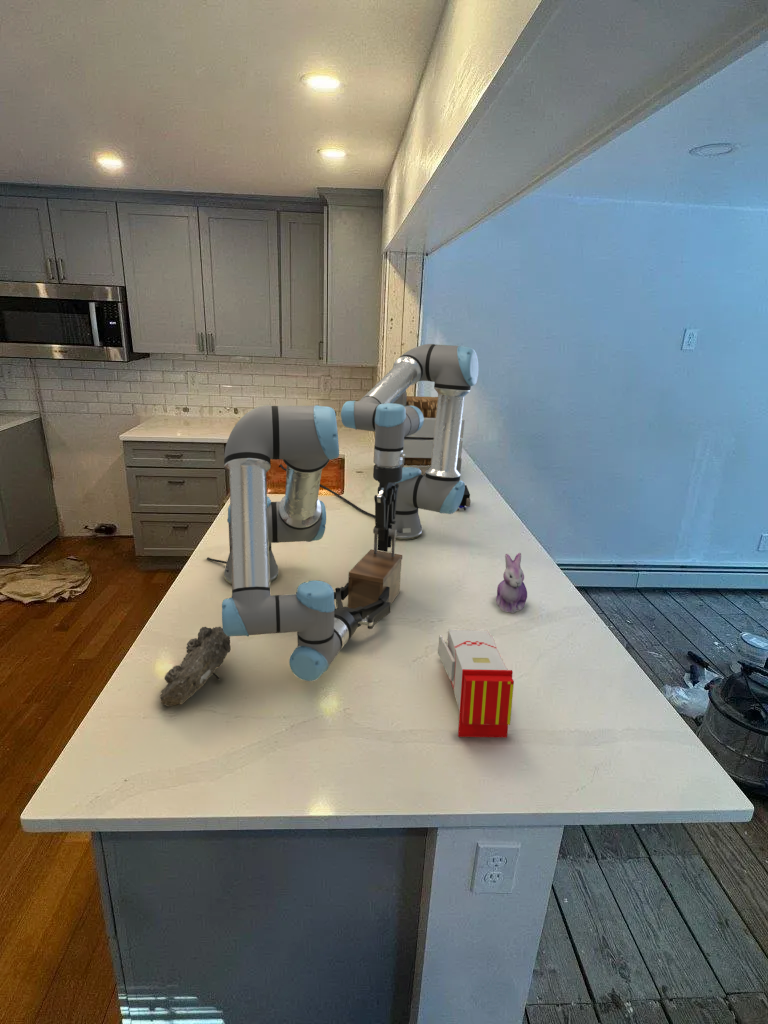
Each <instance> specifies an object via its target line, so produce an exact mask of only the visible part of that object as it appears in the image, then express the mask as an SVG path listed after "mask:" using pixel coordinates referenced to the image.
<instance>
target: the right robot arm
mask: <svg viewBox="0 0 768 1024" xmlns="http://www.w3.org/2000/svg"><path fill="white" fill-rule="evenodd" d="M479 368H480V367H479V358H478V354H477V351H475V349H474V348H473V347H470V346H464V345H451V344H450V345H449V344H436V343H435V344H434V343H426V344H421V345H418V346H415V347H413V348H411V349H409V350H407V351H405V352H404V353H402V354H401V355H400V356H399V357H398V358H396V359H395V361H394V362H393V366H392V368H391V369H390V370H389V371H388V372H387V373H386V374H385V375H384V376H382V378H381V379H380V380H378V382H377V383H376V384H374V386H373V387H372V388H371V389H370V390H369V391H368V392H367V393H366V394H365V395H364V396H363V397H361V399H360V400H357V401H356V400H347V401H345V402H344V403H343V405H342V407H341V411H340V419H341V423H342V425H343V426H344V427H345V428H349V429H354V430H356V431H357V430H358V431H359V430H360V431H367V432H374V448H373V464H374V465H373V470H372V471H373V473H372V478H373V480H375V481H377V482H378V483H379V484H378V487H377V494H375V495H374V496H373V499H374V514H373V513H370V512H369V511H366V510H364V509H362V508H360V507H359V506H358V505H356V504H354V503H353V502H351V501H350V500H348V499H347V498H345V497H343V496H342V495H341V494H339V493H337V492H336V491H334V490H332V489H330V488H329V487H327V486H324V485H322V484H321V483H320V487H319V488H322V489H324V490H326V491H327V492H329V493H331V494H333V495H334V496H336V497H337V498H339V499H341V500H342V501H344V502H345V503H347V504H348V505H350V506H352V508H355V509H356V510H357V511H359V512H360V513H362V514H364V515H367V516H369V517H371V518H373V519H374V527H375V528H377V529H378V537H377V551H383V552H388V551H389V550H388V549H392V537H391V536H388V534H389V528H390V529H396V530H397V535H396V537H395V541H410V540H415V539H418V538H420V537H421V536H422V535H423V525H422V524H421V518H420V515H419V510H424V511H430V512H435V513H439V514H447V515H452V514H454V513H456V512H457V511H458V510H457V509H459V506H460V503H461V501H462V498H463V495H464V490H465V485H466V483H465V482H464V481H463V480H462V479H461V474H460V473H459V472H458V471H457V469H456V468H457V460H458V451H459V442H460V439H461V438H460V434H461V425H462V419H463V414H464V408H465V407H464V406H465V397H466V396H467V395H468V394H469V393H471V387H474V386H475V385H476V384H477V382H478V378H479V372H480V371H479ZM419 382H432V383H433V389H434V390H435V391H436V393H437V397H438V400H437V410H436V420H435V430H434V440H433V449H432V459H431V465H430V466H429V468H427V469H426V470H425V474H422V470H421V468H419V467H416V466H406V467H405V466H404V467H402V466H401V465H402V464H403V458H404V457H405V454H403V449H404V437H406V436H409V435H411V434H415V433H416V432H417V431H418V430H419V429H421V427H422V425H423V422H424V417H423V414H422V412H421V410H420V409H419V408H417V407H415V406H403V405H400V404H393V403H394V402H395V401H396V400H397V399H398V398H399V397H400V396H401V395H402V394H403V393H404V391H405V390H406V391H407V389H408V388H409V387H410V386H415V385H416V384H417V383H419ZM278 468H281V469H282V470H283V471H285V472H286V470H287V467H286V468H285V466H284V465H283V464H281V463H280V464H278Z"/></svg>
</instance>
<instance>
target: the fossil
mask: <svg viewBox="0 0 768 1024" xmlns="http://www.w3.org/2000/svg"><path fill="white" fill-rule="evenodd" d="M231 648H232V647H231V636H227V635H226V634H225V633H224V632H223V627H222V626H215V627H214V626H213V627H212V628H211V627H207V626H202V627H200V629H199V631H198V633H197V637H195V638H191V639H189V640H188V641H187V643H186V654H185V656H184V657H183V660H182V661H181V663H180V665H178V664H177V665H174V666H173V667H172V668H171V669H170V670H168V672H166V673H165V675H164V678H163V679H164V681H165V682H166V683H167V684H166V685H165V687H164V688H162V689H161V690H160V694H159V700H160V703H161V705H165V706H167V707H173V706H178V705H183V704H184V703H185V702H186V701H187V700H188V699H190V697H192V696H193V695H194V694H195V693H196V692H197V691H199V690H200V689H201V688H202V687H203V686H204V685H205V684H206V682H207V681H208V679H209V678H210V677H212V675H213V677H215V678H216V680H220V679H221V677H219V675H218V674H216V672H215V671H216V669H217V668H220V667H221V666H222V665H223V663H224V661H225V658H226V657H227V655H228V654H229V653H230V652H231Z"/></svg>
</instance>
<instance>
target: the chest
mask: <svg viewBox="0 0 768 1024" xmlns="http://www.w3.org/2000/svg"><path fill="white" fill-rule="evenodd" d="M402 560H403V559H402ZM402 560H401V561H400V562H399V564H398V565H397V566H396V567H395V569H394V570H393V571H392V572H391V574H390V575H389V576H388V578H387V579H386V580H385V581H384V583H380V582H374V581H369V580H364V579H359V578H354V577H349V576H348V582H349V583H348V582H347V583H348V596H347V607H349V608H354V609H355V608H357V607H360V606H361V607H364V606H367V605H369V604H371V603H374V602H376V601H378V598H379V596H380V595H381V594H382V592H383V591H384V590H385V589H386V587H390V590H389V602H390V603H391V605H392V604H393V602H394V601H395V600H396V598H397V597H398V596H399V594H400V592H401V576H402V575H401V574H402V573H401V572H402Z"/></svg>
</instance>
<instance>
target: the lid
mask: <svg viewBox="0 0 768 1024" xmlns="http://www.w3.org/2000/svg"><path fill="white" fill-rule="evenodd" d="M372 533H373V534H374V536H373V549H369V550H368V551H367V553H366V554H365V555H363V557H362V558H361V559H359V561H358V562H357V563H356V564H355V565H354V566H353V567H352V568H351V569H350V571H348V578H349V577H354V578H359V579H364V580H369V581H374V582H380V583H384V581H385V580H386V579H387V578H388V576H389V575H390V574H391V572H392V571H393V570H394V569H395V567H396V566H397V565H398V564H399V562H400V561H401V560H403V554H399V553H396V551H395V550H396V540H395V537H396V535H397V530H396V529H390V528H389V534H388V536H391V537H392V539H391V552H388V551H387V552H385V551H380V550H377V547H378V529H377V528H375V526H374V527H373V529H372ZM401 562H402V561H401Z"/></svg>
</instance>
